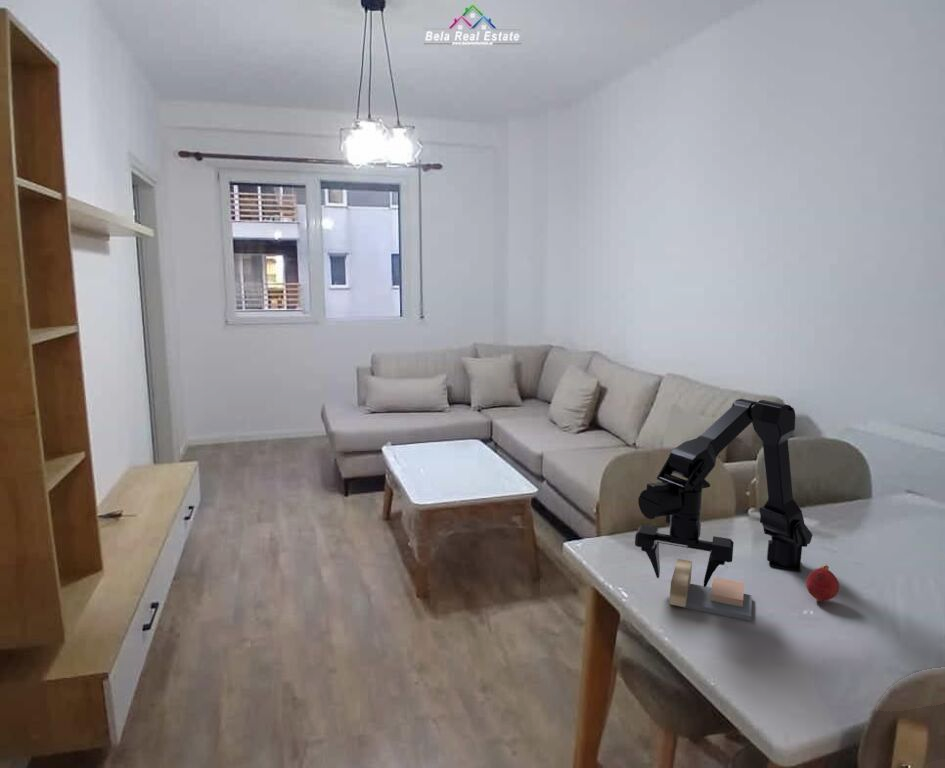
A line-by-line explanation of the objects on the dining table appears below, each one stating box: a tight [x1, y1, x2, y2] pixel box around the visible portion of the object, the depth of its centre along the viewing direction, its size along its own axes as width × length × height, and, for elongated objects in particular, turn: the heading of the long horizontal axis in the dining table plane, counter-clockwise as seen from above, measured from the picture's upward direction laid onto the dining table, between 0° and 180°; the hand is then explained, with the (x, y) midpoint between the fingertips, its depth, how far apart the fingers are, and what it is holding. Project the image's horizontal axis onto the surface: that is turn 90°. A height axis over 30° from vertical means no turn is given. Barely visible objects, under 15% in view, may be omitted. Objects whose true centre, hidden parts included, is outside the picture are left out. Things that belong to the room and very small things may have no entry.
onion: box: [805, 564, 840, 603], centre depth 128 cm, size 6×6×8 cm
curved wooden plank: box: [669, 558, 693, 608], centre depth 129 cm, size 12×3×4 cm, turn 156°
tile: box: [710, 576, 745, 607], centre depth 128 cm, size 6×2×8 cm
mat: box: [669, 583, 753, 622], centre depth 128 cm, size 15×9×1 cm, turn 66°
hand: (681, 581), depth 130 cm, fingers open, 9 cm apart
